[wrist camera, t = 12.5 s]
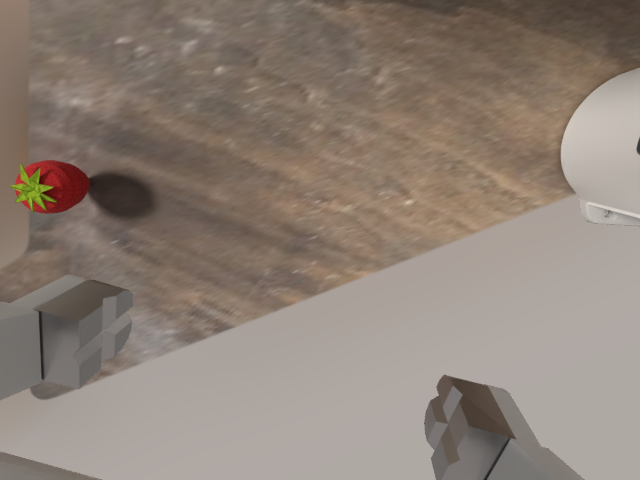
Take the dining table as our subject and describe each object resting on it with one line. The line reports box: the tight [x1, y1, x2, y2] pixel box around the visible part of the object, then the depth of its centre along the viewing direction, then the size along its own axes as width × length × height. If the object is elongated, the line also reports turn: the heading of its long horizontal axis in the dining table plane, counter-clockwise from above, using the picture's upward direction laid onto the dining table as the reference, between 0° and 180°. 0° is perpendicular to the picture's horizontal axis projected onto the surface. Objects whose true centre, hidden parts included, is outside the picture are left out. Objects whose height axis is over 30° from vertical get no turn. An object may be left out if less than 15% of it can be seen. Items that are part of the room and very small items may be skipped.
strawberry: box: [10, 160, 90, 213], centre depth 39 cm, size 6×8×10 cm
